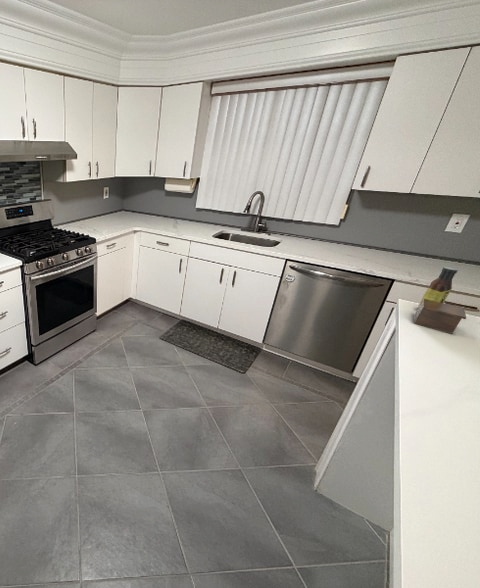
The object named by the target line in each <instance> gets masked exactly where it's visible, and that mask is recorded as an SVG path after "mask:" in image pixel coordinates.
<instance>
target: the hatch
mask: <svg viewBox="0 0 480 588" xmlns="http://www.w3.org/2000/svg"><path fill="white" fill-rule="evenodd" d="M423 309H426V310H430V311H434V312H438V313H442V314H446V315H450V316H454V317H458V318H462V319H461V320H466V319H467V314H466V311H465V308H464V307H462V306H461V307H460V306H457V305H452V304H448V303H445V302H444V303H440V302H436V301H431V300H427V299H423Z"/></svg>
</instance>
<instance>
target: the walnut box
mask: <svg viewBox="0 0 480 588" xmlns="http://www.w3.org/2000/svg"><path fill="white" fill-rule="evenodd" d="M419 304H420V303H419ZM418 307H419V308H418ZM418 307H417V308H418V310H416V311H415V313H414V320H413V321H414V322H413V324H415V325H419V326H422V327H425V328H428V329H432V330H435V331H440V332H442V333H446V334H450V335H452V334H453V333H454V332H455V330H456V329H457V327H458V325H460V322H461V321H462V320H463V319H462V318H458V317H454V316H450V315H446V314H442V313H438V312H434V311H430V310H426V309H423V301H422V303H421V304H420V306H418Z"/></svg>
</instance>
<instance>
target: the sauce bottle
mask: <svg viewBox="0 0 480 588" xmlns="http://www.w3.org/2000/svg"><path fill="white" fill-rule="evenodd" d="M458 271H459V270H458V269H457V268H454V267H449V266H444V267H442V269H441V272H440V274H439V275H438V277H437V278H436V279H433V280H432V281H431V282H430V284H429V285H428V287H427V289H426V291H425V293H424V294H423V296H422V298H421V300H420V301H419V303H418V306H417V307H416V309H417V310H418V308H419V306H420V304H421V303H422V301H423V299H427V300H431V301H436V302H440V303H444V304H445V302H446V300H447V298H448V296H449V294H450V293H451V291H452V289H453V287H452V285H453V279H454V277H455V276H456V274H457V273H458ZM417 310H416V311H417Z"/></svg>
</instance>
